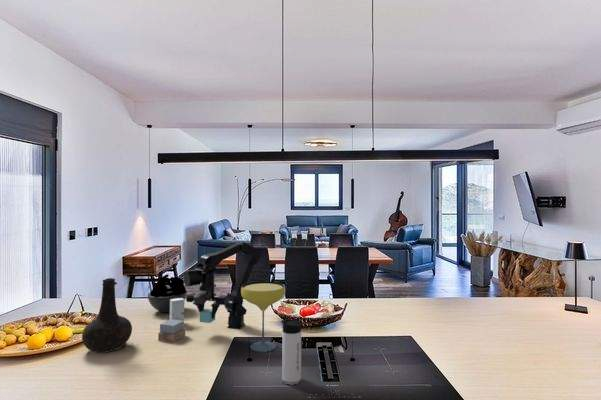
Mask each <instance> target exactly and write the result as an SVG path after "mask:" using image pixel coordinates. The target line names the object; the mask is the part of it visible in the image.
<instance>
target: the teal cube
mask: <svg viewBox="0 0 601 400" xmlns="http://www.w3.org/2000/svg"><path fill="white" fill-rule="evenodd" d="M215 320H216V316H215V317H214V318H213V319H212V308H204V310H202V311H201V312H199V323H203V324H204V323H206V324H210V323H212V322H214V321H215Z"/></svg>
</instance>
